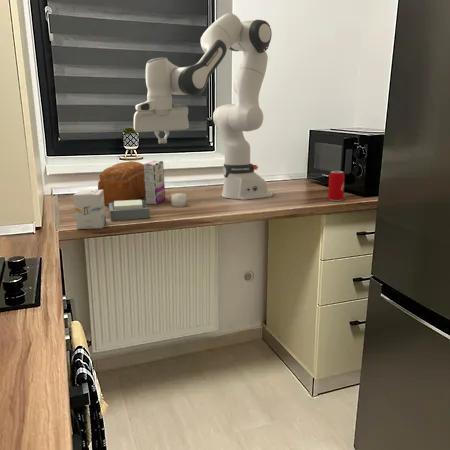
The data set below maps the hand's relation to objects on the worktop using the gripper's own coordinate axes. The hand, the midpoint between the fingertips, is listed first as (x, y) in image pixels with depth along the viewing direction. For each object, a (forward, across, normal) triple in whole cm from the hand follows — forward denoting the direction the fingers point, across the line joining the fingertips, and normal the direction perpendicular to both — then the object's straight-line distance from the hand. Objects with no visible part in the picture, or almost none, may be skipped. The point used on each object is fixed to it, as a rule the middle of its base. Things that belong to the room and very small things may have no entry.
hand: (162, 143), depth 168 cm
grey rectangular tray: (+25, +14, +5) cm, 29 cm away
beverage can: (+27, -69, +7) cm, 75 cm away
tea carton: (+25, +15, +5) cm, 30 cm away
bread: (+26, +14, -24) cm, 38 cm away
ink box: (+25, +29, +15) cm, 41 cm away
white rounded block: (+26, -6, -5) cm, 27 cm away
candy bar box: (+26, +2, -15) cm, 30 cm away
